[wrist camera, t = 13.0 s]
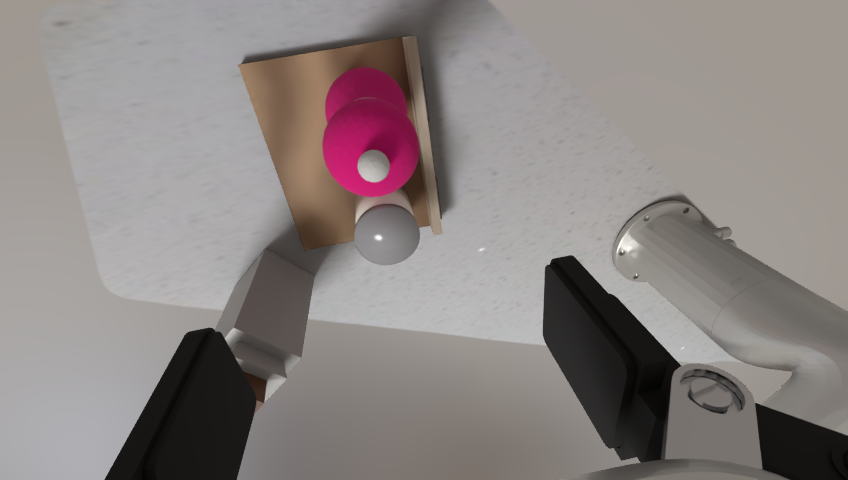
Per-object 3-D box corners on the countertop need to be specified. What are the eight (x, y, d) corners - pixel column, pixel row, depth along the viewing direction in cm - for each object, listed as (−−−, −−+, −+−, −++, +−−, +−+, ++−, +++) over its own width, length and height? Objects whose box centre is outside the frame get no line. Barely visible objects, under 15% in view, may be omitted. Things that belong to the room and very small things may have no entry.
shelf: (413, 35, 36) (419, 36, 33) (438, 219, 46) (444, 233, 43) (241, 63, 35) (230, 67, 32) (305, 246, 45) (302, 262, 42)
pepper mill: (416, 108, 38) (466, 178, 21) (362, 153, 40) (368, 253, 23) (368, 45, 35) (381, 67, 18) (311, 97, 36) (273, 164, 19)
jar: (404, 172, 42) (414, 202, 35) (413, 221, 45) (423, 258, 38) (348, 183, 41) (347, 215, 34) (361, 232, 44) (362, 270, 37)
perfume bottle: (265, 248, 45) (217, 368, 29) (314, 276, 47) (294, 398, 32) (235, 286, 46) (175, 417, 31) (284, 310, 49) (251, 441, 34)
